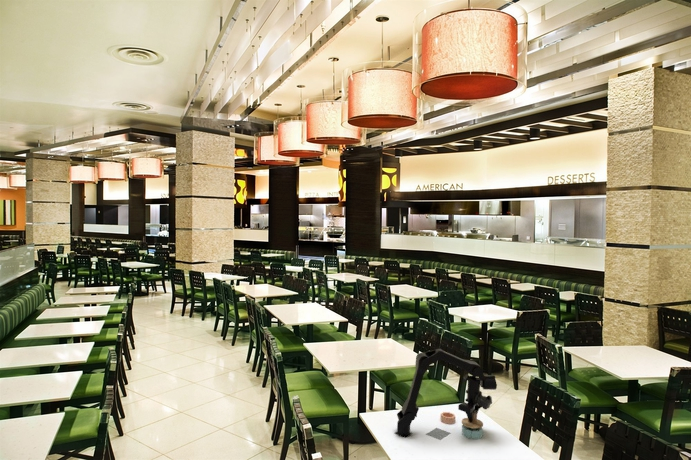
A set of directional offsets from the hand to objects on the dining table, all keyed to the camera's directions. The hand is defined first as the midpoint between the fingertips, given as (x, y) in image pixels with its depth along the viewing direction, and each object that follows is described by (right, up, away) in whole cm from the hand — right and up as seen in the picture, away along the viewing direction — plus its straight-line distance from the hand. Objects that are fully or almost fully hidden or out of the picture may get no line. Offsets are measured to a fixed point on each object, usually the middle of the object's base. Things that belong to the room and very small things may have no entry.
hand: (472, 421), depth 222 cm
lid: (0, -1, 0) cm, 1 cm away
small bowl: (-9, -6, +15) cm, 18 cm away
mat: (-16, -7, 0) cm, 18 cm away
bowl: (0, -7, 0) cm, 7 cm away
